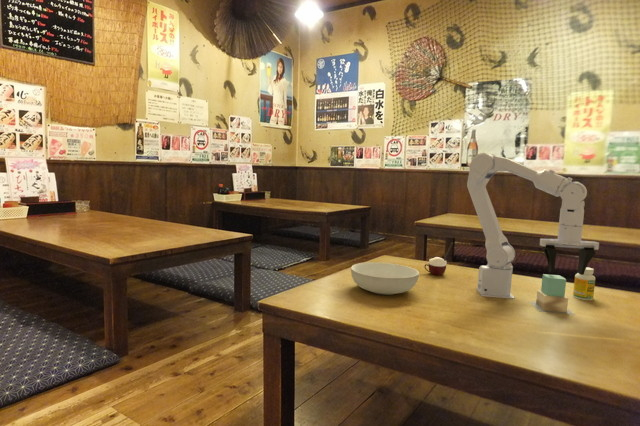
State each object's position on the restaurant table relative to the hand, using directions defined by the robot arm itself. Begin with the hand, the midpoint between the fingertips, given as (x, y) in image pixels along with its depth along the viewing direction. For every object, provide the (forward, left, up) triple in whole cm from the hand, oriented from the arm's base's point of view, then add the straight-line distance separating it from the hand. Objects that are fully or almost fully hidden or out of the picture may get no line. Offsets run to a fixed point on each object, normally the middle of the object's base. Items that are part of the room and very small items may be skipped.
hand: (565, 272), depth 118 cm
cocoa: (-32, +29, -10) cm, 44 cm away
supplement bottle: (+10, +12, -10) cm, 19 cm away
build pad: (-4, -2, -10) cm, 11 cm away
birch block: (-4, -2, -10) cm, 11 cm away
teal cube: (-4, -2, -6) cm, 7 cm away
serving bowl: (-51, +2, -11) cm, 52 cm away
